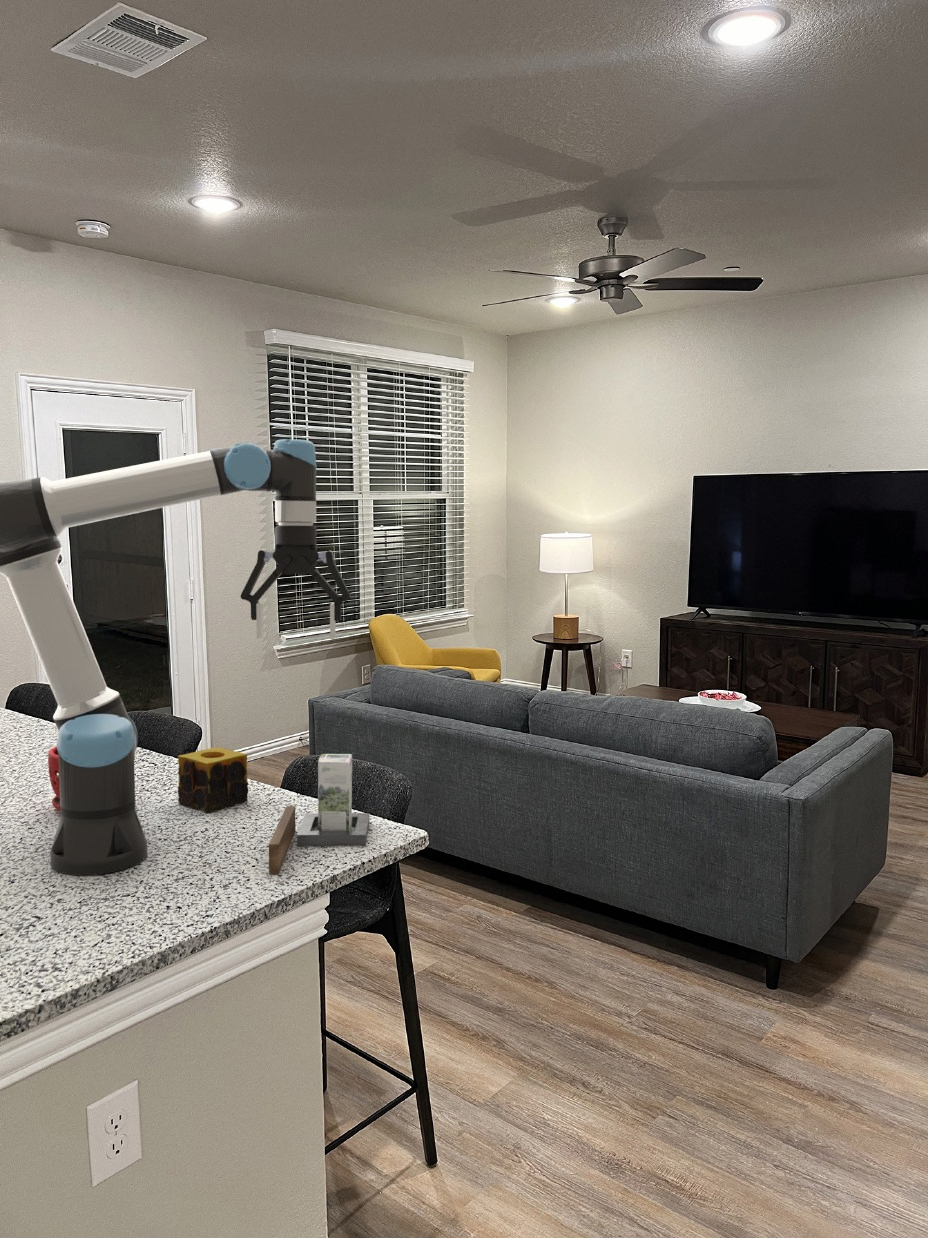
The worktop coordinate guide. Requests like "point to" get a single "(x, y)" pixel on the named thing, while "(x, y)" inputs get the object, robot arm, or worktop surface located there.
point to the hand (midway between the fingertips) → (296, 638)
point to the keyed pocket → (333, 832)
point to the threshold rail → (281, 840)
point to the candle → (212, 779)
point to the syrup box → (335, 792)
